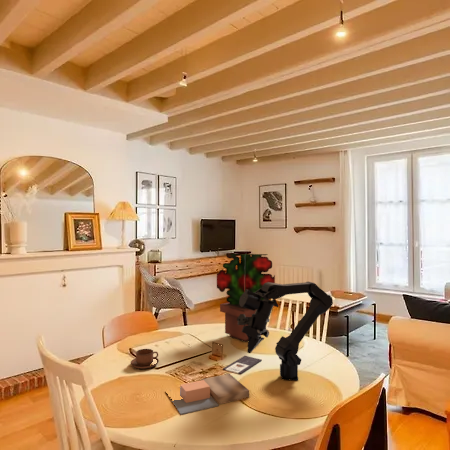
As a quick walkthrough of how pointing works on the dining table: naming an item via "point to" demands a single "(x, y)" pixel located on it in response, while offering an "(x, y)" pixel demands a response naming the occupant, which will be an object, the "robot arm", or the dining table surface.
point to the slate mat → (194, 405)
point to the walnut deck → (226, 388)
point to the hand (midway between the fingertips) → (248, 352)
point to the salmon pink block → (194, 391)
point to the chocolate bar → (242, 364)
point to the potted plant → (241, 287)
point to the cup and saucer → (144, 359)
